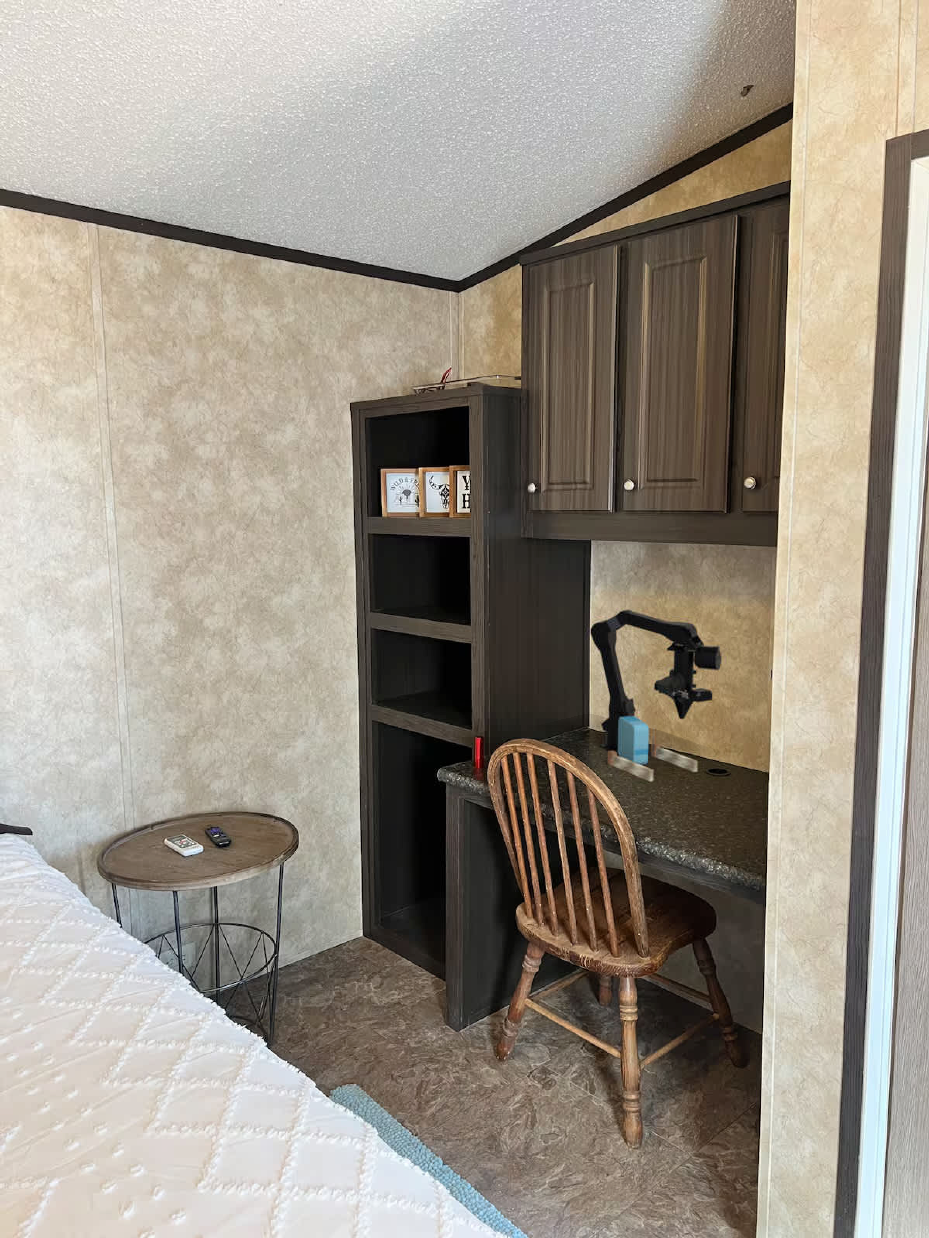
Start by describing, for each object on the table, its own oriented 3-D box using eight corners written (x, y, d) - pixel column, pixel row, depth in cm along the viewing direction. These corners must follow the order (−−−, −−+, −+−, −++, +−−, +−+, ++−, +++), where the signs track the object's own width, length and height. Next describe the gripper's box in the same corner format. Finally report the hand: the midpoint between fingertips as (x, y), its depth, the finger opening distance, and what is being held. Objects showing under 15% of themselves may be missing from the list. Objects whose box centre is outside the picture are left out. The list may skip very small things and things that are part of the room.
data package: (648, 765, 266) (649, 725, 264) (633, 766, 265) (634, 726, 264) (631, 753, 278) (632, 714, 276) (617, 754, 277) (618, 715, 275)
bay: (607, 764, 268) (607, 751, 267) (655, 754, 277) (655, 742, 276) (648, 781, 252) (649, 768, 252) (698, 771, 261) (698, 758, 261)
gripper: (640, 663, 273) (639, 715, 275) (685, 675, 257) (683, 730, 259) (669, 660, 278) (667, 710, 281) (714, 671, 262) (712, 724, 265)
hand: (681, 718), depth 271 cm, fingers closed
